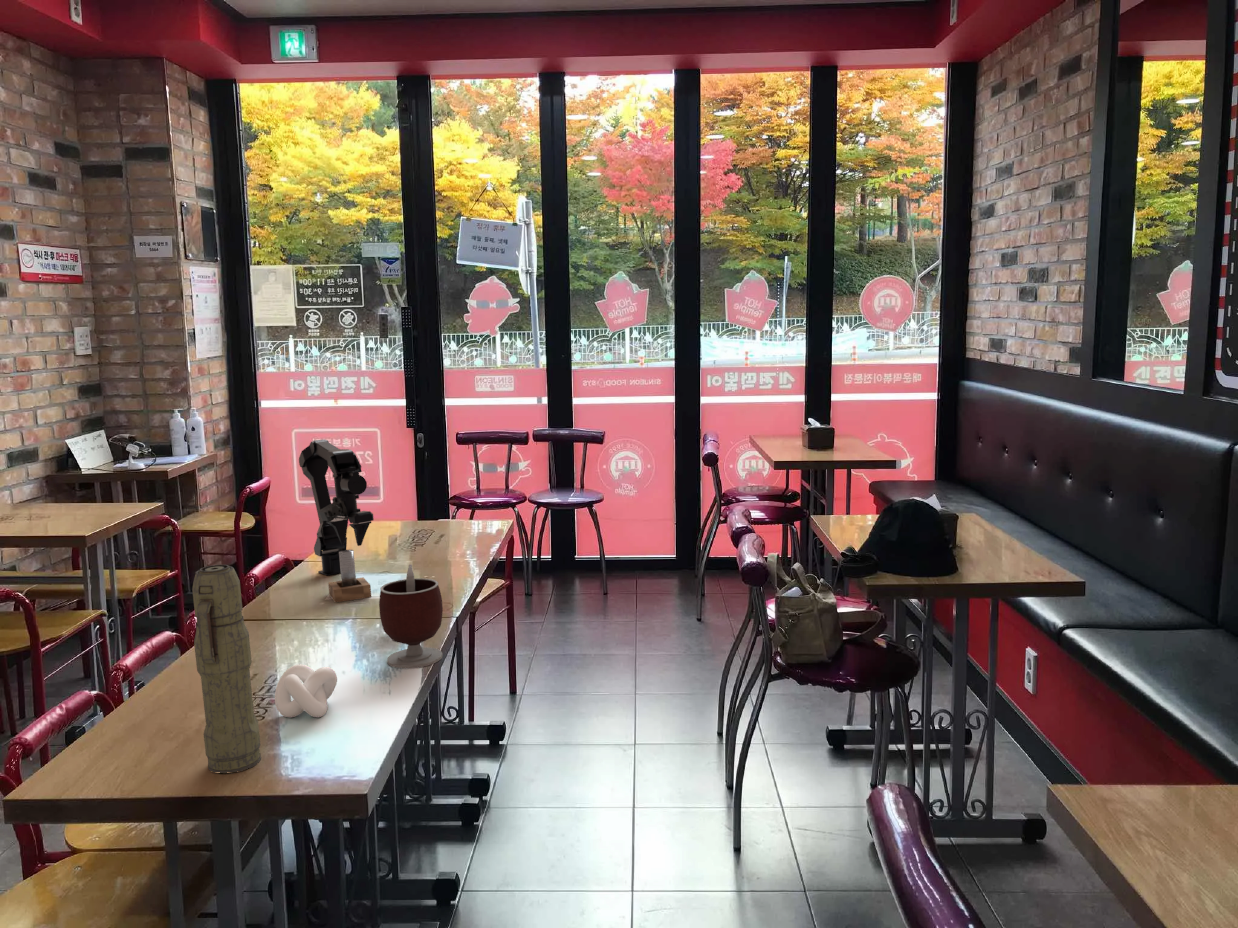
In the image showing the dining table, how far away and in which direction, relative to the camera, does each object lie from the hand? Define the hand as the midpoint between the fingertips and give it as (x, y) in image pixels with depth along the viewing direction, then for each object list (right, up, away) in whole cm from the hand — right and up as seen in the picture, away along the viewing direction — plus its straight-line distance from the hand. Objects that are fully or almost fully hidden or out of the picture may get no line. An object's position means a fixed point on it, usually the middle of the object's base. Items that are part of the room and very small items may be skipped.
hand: (351, 544), depth 289 cm
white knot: (+19, -25, -98) cm, 103 cm away
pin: (+3, -14, -12) cm, 18 cm away
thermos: (+13, -29, -119) cm, 123 cm away
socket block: (+3, -14, -12) cm, 18 cm away
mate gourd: (+33, -20, -68) cm, 78 cm away
